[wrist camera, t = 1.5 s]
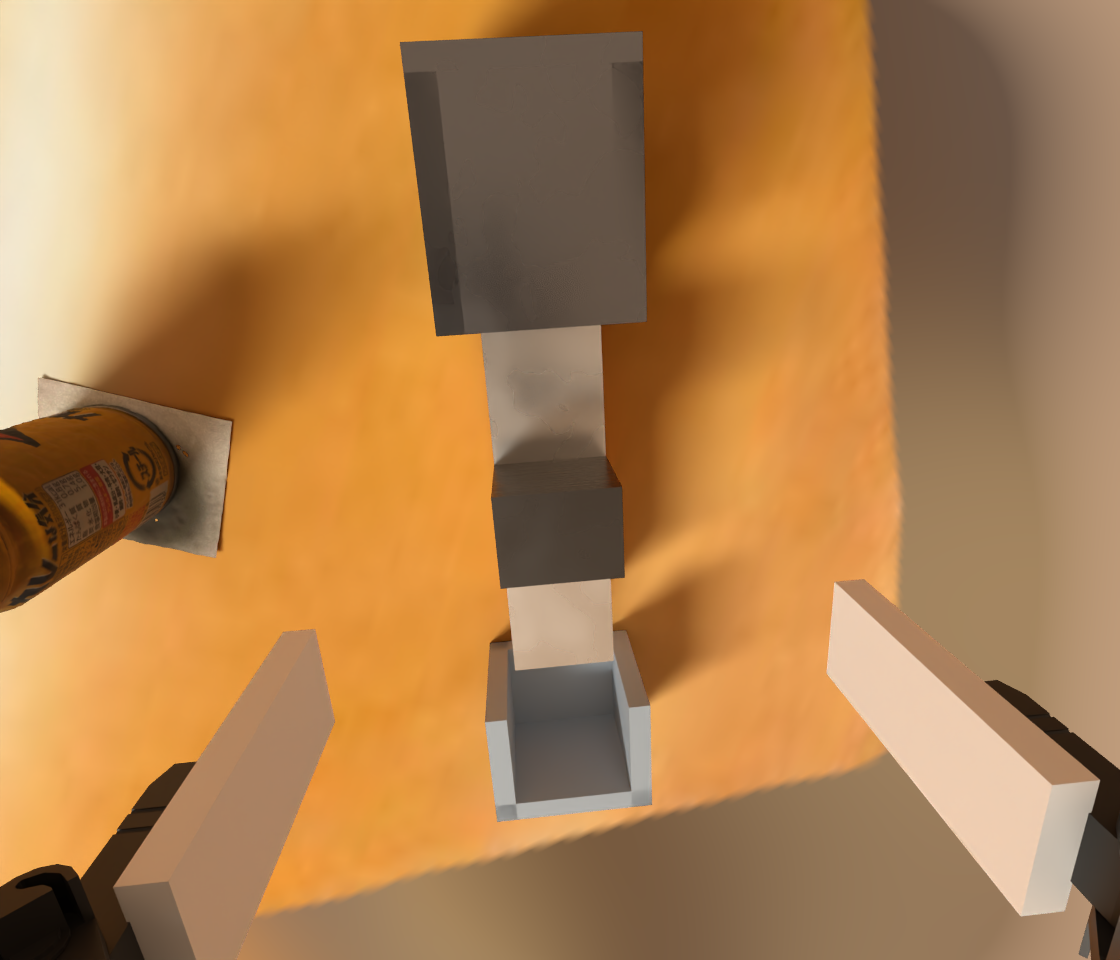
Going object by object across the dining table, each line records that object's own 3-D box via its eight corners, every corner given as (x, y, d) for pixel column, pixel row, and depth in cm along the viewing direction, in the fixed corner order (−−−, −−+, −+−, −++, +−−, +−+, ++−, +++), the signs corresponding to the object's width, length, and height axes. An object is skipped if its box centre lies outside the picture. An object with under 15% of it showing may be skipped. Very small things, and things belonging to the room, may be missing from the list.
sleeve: (431, 106, 26) (399, 42, 19) (607, 97, 26) (642, 31, 19) (455, 321, 28) (436, 336, 21) (614, 310, 29) (647, 321, 22)
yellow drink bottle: (41, 376, 28) (-283, 445, 17) (233, 420, 29) (55, 513, 18) (39, 519, 30) (-249, 668, 19) (218, 555, 31) (51, 714, 20)
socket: (490, 643, 34) (485, 722, 28) (626, 630, 34) (650, 705, 28) (500, 730, 36) (497, 821, 30) (628, 716, 36) (651, 804, 30)
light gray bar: (469, 146, 25) (447, 82, 17) (577, 140, 25) (609, 74, 17) (514, 612, 32) (515, 730, 24) (598, 604, 32) (628, 718, 24)
